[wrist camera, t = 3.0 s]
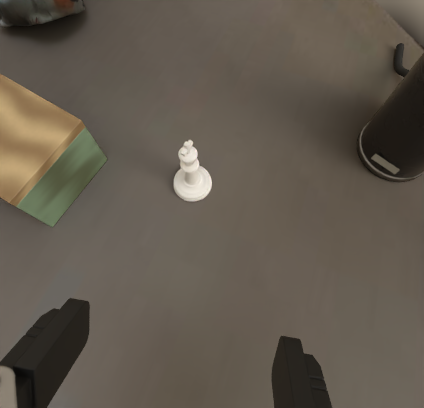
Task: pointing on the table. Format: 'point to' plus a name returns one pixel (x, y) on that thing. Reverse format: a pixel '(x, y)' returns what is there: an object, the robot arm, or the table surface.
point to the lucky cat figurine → (36, 11)
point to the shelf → (42, 154)
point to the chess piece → (191, 175)
